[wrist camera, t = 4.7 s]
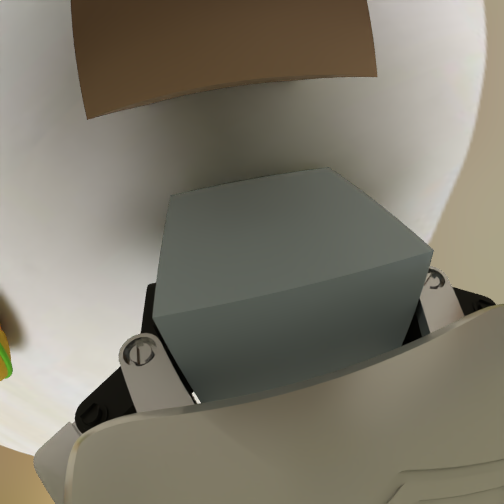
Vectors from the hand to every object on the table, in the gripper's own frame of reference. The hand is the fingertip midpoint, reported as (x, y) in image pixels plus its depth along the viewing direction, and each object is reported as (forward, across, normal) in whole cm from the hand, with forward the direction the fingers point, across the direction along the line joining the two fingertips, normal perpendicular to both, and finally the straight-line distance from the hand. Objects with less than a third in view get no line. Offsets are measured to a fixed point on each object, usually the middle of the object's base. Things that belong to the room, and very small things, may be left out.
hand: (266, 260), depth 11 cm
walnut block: (+3, 0, -9) cm, 10 cm away
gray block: (+1, 0, 0) cm, 1 cm away
